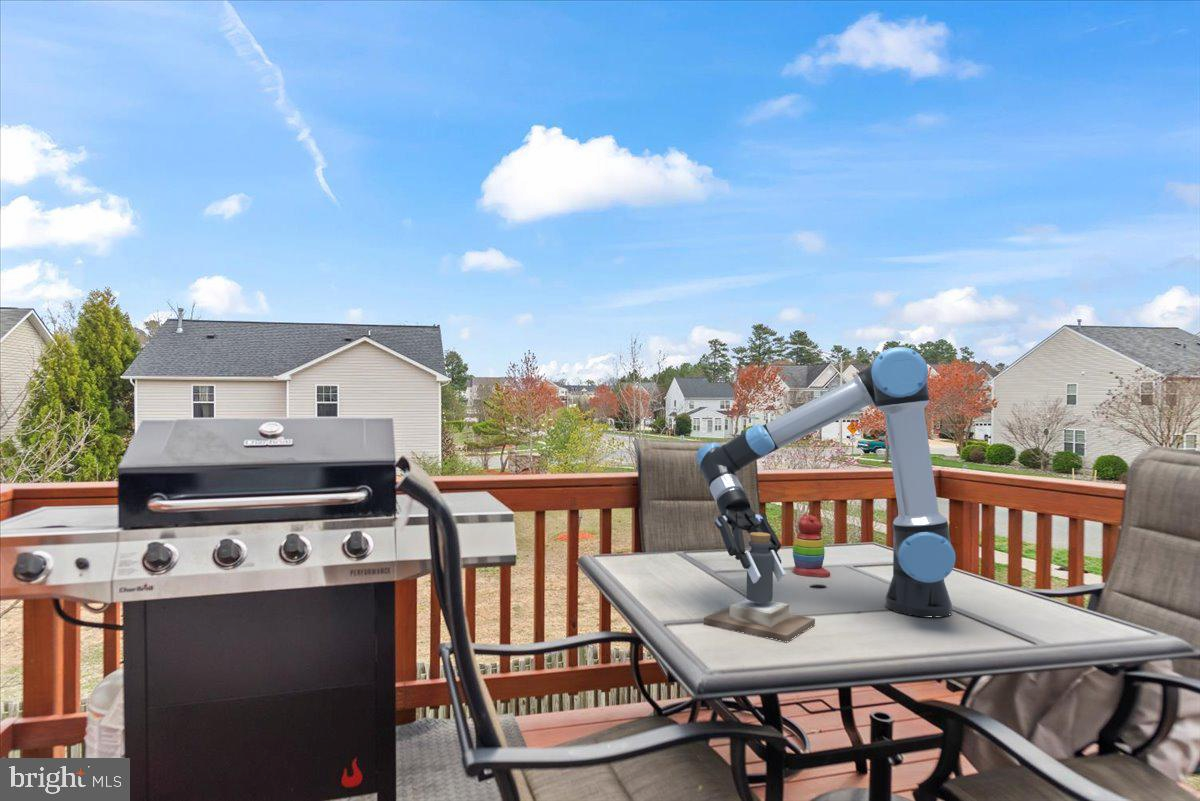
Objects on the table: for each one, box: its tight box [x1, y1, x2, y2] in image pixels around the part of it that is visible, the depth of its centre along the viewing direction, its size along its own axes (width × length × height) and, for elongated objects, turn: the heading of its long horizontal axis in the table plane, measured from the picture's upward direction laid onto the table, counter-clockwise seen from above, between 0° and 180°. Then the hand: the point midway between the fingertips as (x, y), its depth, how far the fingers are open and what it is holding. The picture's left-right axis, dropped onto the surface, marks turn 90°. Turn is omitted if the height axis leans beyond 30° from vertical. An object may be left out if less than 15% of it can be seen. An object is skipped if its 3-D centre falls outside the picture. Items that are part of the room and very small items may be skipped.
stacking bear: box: [792, 513, 831, 578], centre depth 213 cm, size 11×10×18 cm
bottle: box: [746, 532, 774, 603], centre depth 160 cm, size 6×6×15 cm
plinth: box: [703, 597, 816, 643], centre depth 160 cm, size 20×16×5 cm
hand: (769, 578), depth 157 cm, fingers open, 6 cm apart
